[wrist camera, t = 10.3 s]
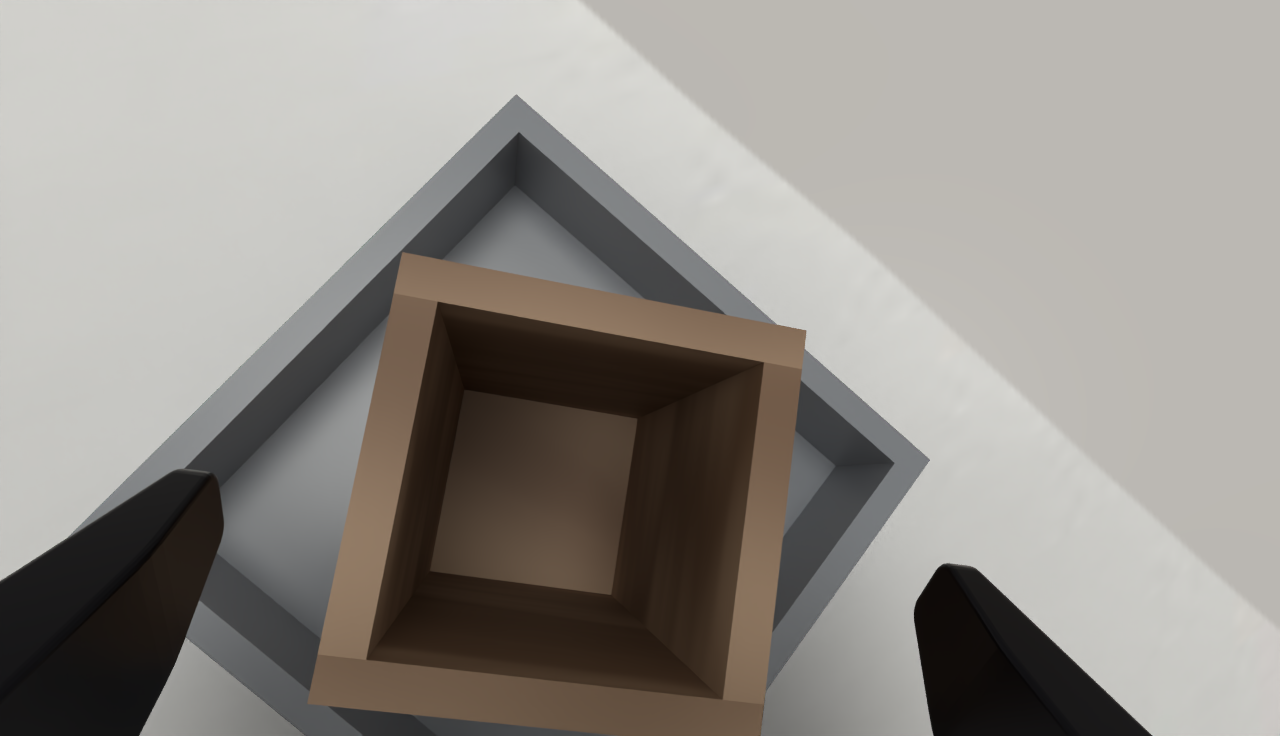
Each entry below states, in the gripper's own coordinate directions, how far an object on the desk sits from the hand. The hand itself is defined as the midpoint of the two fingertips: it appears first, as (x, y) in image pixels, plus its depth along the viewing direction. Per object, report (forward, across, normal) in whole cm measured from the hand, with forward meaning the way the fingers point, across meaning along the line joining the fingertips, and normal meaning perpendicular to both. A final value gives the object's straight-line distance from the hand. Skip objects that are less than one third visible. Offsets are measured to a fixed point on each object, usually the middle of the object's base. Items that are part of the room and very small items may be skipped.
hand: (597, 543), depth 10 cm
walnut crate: (+9, 0, +8) cm, 12 cm away
